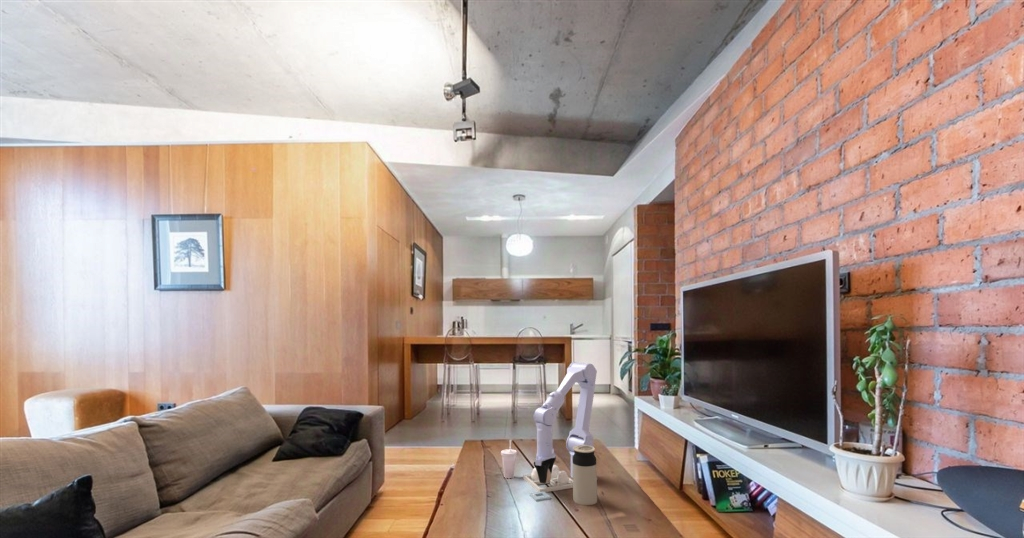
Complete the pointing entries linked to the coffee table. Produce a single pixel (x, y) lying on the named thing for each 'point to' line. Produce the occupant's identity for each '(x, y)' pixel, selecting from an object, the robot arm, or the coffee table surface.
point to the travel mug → (584, 475)
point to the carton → (552, 482)
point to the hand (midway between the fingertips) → (545, 480)
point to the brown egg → (548, 476)
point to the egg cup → (534, 496)
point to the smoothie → (509, 462)
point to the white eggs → (553, 475)
